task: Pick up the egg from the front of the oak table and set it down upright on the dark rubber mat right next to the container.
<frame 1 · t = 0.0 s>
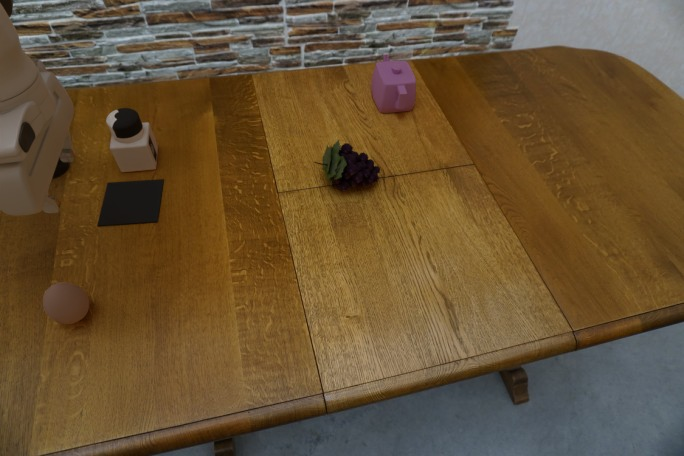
hand: (62, 182, 64), 29 cm above the table, tool pointing down, fingers open, 8 cm apart
mat: (132, 202, 99), on the table
teapot: (391, 99, 124), on the table
container: (140, 160, 107), on the table
travel mug: (53, 168, 104), on the table
egg: (77, 315, 83), on the table
fruit: (346, 182, 106), on the table
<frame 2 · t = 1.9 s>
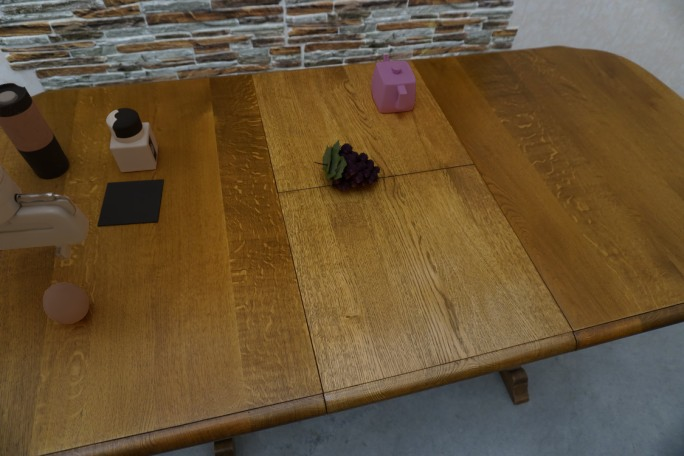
hand: (32, 257, 69), 18 cm above the table, tool pointing down, fingers open, 8 cm apart
nothing on the table moved.
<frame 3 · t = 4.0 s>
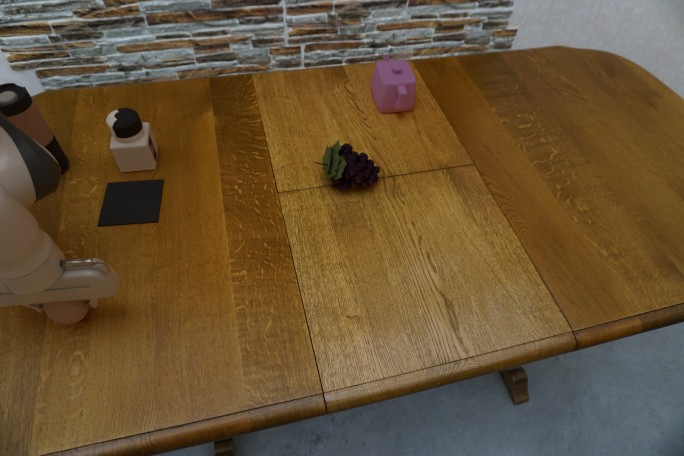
hand: (69, 306, 81), 3 cm above the table, tool pointing down, fingers closed on egg, 6 cm apart
egg: (77, 315, 83), on the table, touching gripper
everything else where it was.
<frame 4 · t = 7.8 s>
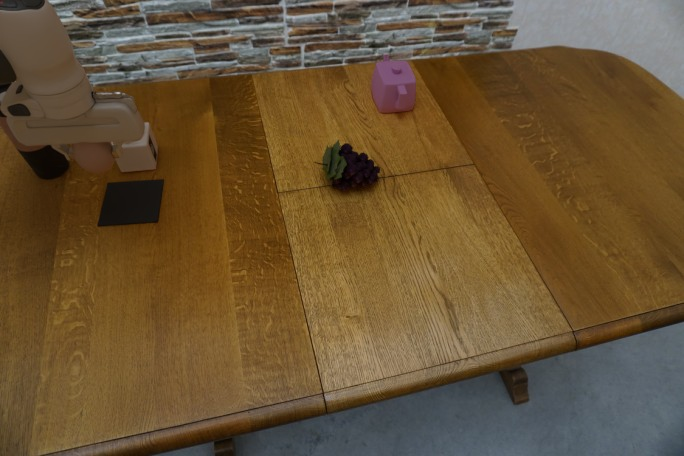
hand: (96, 156, 84), 17 cm above the table, tool pointing down, fingers closed on egg, 6 cm apart
egg: (103, 169, 87), point 13 cm above the table, touching gripper
everything else where it was.
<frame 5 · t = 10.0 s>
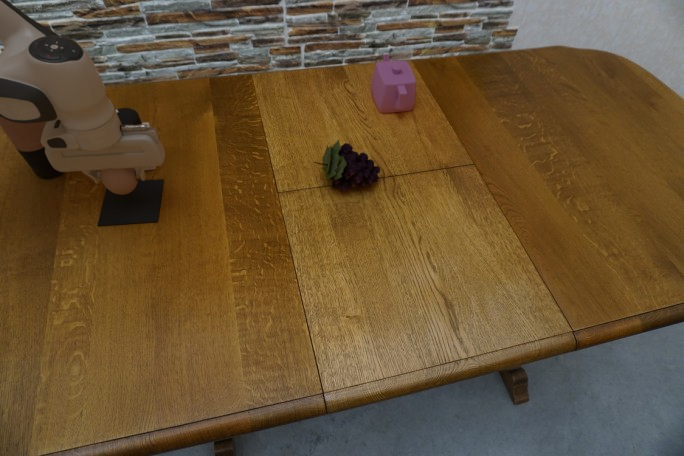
hand: (121, 179, 94), 7 cm above the table, tool pointing down, fingers closed on egg, 6 cm apart
egg: (126, 190, 96), point 4 cm above the table, touching gripper
everything else where it was.
when the fingers open (3 cm above the table, at t = 11.6 s): egg stays where it is, resting on mat.
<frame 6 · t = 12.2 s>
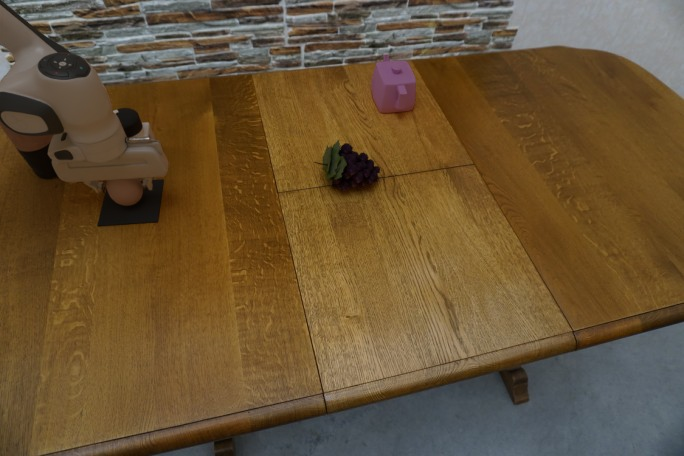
hand: (125, 189, 96), 4 cm above the table, tool pointing down, fingers open, 8 cm apart
egg: (131, 201, 99), resting on mat
everything else where it was.
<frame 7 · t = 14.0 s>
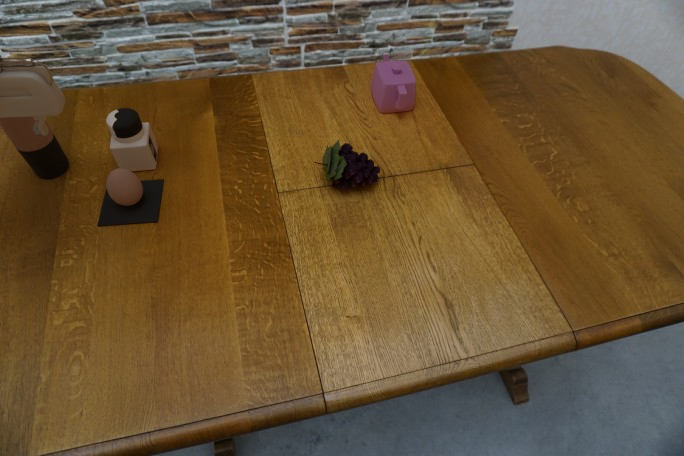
hand: (12, 134, 76), 24 cm above the table, tool pointing down, fingers open, 8 cm apart
nothing on the table moved.
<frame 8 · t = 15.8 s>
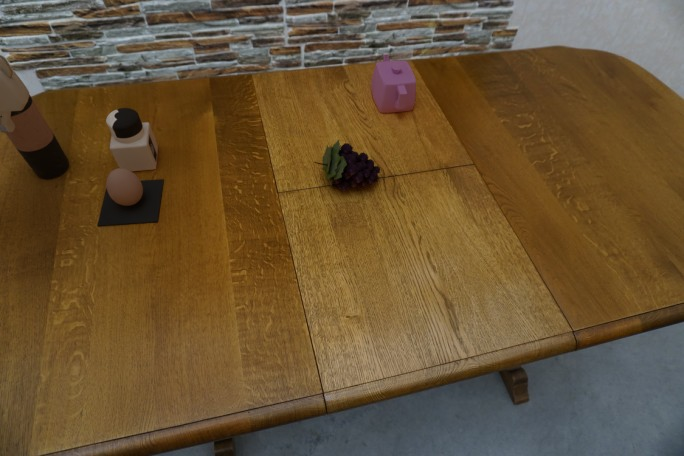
nothing on the table moved.
at the end: egg inside the target area on the table beside the container (0.5 cm from its centre), resting on mat; egg tilted 0°; the gripper is holding nothing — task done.
